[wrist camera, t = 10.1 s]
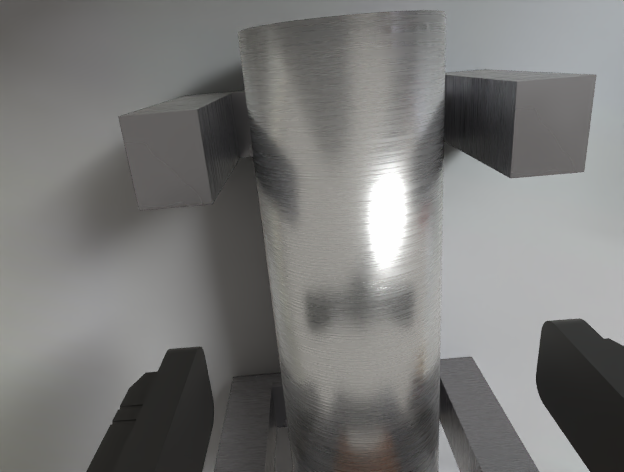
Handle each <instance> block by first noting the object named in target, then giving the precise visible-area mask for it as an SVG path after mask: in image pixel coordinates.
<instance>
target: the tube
mask: <svg viewBox="0 0 624 472" xmlns="http://www.w3.org/2000/svg"><path fill="white" fill-rule="evenodd" d="M445 39H446V12H444V11H432V10H420V11H394V12H378V13H365V14H353V15H342V16H332V17H322V18H313V19H304V20H296V21H289V22H281V23H275V24H268V25H262V26H257V27H251V28H247V29H243V30H240V31H238V40H239V48H240V56H241V63H242V71H243V79H244V87H245V95H246V103H247V110H248V118H249V126H250V134H251V142H252V150H253V158H254V165H255V173H256V181H257V189H258V197H259V205H260V212H261V220H262V228H263V236H264V244H265V252H266V259H267V267H268V275H269V283H270V291H271V299H272V307H273V314H274V322H275V330H276V338H277V346H278V354H279V361H280V369H281V377H282V385H283V393H284V401H285V408H286V416H287V424H288V432H289V440H290V448H291V456H292V463H293V471H294V472H438V458H439V398H440V338H441V279H442V219H443V159H444V99H445Z"/></svg>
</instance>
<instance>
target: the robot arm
mask: <svg viewBox="0 0 624 472" xmlns="http://www.w3.org/2000/svg"><path fill="white" fill-rule="evenodd" d="M536 384H537V389H538V393H539V396H540V398H541V400H542V402H543V404H544V405H545V407H546V408H547V410H548V411H549V413H550V414H551V416H552V417H553V418H554V420H555V421H556V423H557V424H558V426H559V427H560V429H561V430H562V432H563V433H564V434H565V436H566V437H567V439H568V440H569V442H570V443H571V445H572V446H573V447H574V449H575V450H576V452H577V453H578V455H579V456H580V458H581V459H582V461H583V462H584V463H585V465H586V466H587V468H588V469H589V471H590V472H624V346H622V345H620V344H618V343H617V342H615V341H613V340H611V339H609V338H608V339H603V338H602V337H601V336H600V335H599V334H598V333H597V332H596V331H595V330H594V329H593V328H592V327H591V326H590V325H589V324H588V323H586V322H585V321H584V320H582V319H567V320H554V321H546V322H545V323H544V324H543V327H542V331H541V339H540V347H539V355H538V363H537V372H536ZM213 420H214V403H213V396H212V391H211V386H210V381H209V375H208V370H207V365H206V360H205V355H204V351H203V349H202V347H190V348H177V349H169V350H168V351H167V352H166V354H165V357H164V359H163V361H162V363H161V366H160V368H159V370H158V372H148V373H145V374H144V375H143V376H142V377H141V378H140V379H139V380H138V381H137V382H135V383H134V384H133V385H132V386H131V387H130V388H129V390H128V392H127V394H126V396H125V398H124V399H123V401H122V403H121V405H120V410H118V411H117V413H116V415H115V417H114V419H113V424H112V425H110V427H109V429H108V431H107V433H106V435H105V437H104V438H103V440H102V442H101V444H100V446H99V448H98V450H97V452H96V454H95V456H94V458H93V460H92V462H91V464H90V466H89V468H88V470H87V472H202V469H203V465H204V461H205V457H206V452H207V448H208V444H209V440H210V436H211V431H212V427H213Z"/></svg>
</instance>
